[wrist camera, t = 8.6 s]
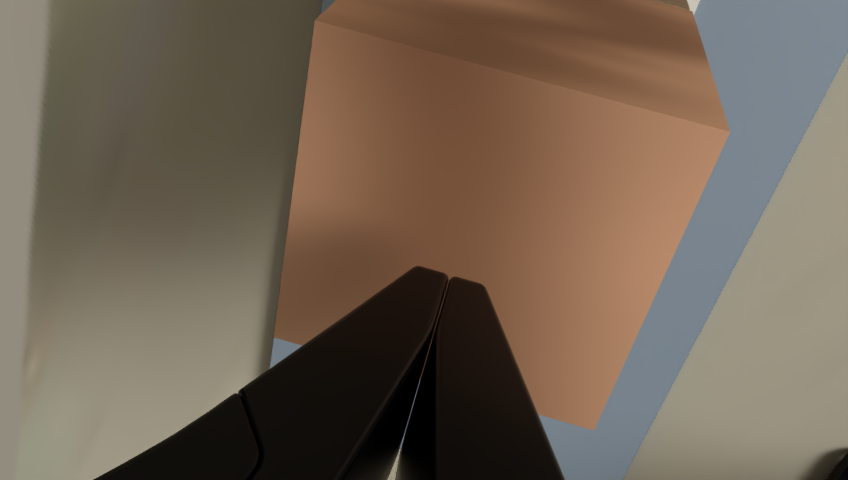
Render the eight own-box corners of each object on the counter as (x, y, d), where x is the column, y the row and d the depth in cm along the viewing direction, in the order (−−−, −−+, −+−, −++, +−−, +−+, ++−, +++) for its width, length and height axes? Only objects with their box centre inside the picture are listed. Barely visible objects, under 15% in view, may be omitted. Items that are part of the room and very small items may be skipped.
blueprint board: (902, -76, 17) (913, -69, 17) (605, 497, 27) (605, 514, 27) (360, -218, 18) (352, -217, 17) (270, 395, 28) (262, 409, 27)
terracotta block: (692, 11, 13) (729, 131, 9) (597, 253, 16) (593, 430, 12) (404, -64, 14) (314, 20, 10) (358, 186, 16) (273, 337, 12)
